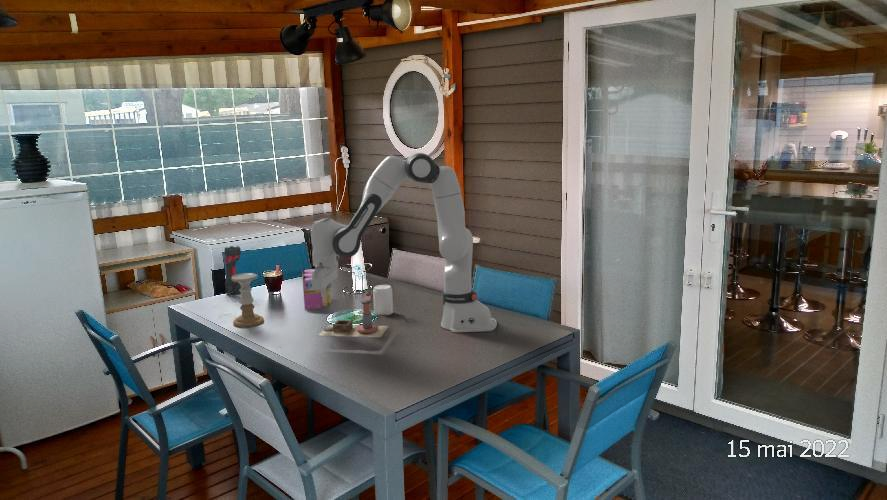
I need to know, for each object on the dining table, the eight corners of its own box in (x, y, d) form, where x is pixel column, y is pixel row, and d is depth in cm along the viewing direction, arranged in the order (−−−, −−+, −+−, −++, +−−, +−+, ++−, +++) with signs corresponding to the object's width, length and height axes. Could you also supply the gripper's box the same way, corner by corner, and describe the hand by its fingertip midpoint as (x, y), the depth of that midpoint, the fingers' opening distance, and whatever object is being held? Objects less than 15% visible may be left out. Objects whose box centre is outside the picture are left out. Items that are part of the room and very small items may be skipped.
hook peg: (330, 303, 253) (329, 286, 252) (331, 305, 250) (330, 288, 249) (322, 304, 252) (321, 286, 251) (322, 306, 249) (321, 289, 248)
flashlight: (248, 292, 315) (243, 246, 310) (235, 296, 309) (230, 249, 304) (237, 290, 319) (232, 245, 314) (224, 294, 313) (219, 248, 308)
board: (389, 328, 256) (388, 325, 255) (380, 340, 243) (380, 336, 243) (328, 327, 260) (328, 323, 259) (317, 338, 247) (317, 334, 247)
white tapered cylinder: (390, 317, 271) (388, 289, 268) (371, 316, 272) (370, 289, 270) (395, 311, 278) (394, 284, 276) (377, 310, 280) (376, 284, 277)
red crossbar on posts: (377, 332, 247) (375, 303, 245) (356, 333, 247) (354, 304, 244) (379, 320, 262) (378, 292, 259) (359, 321, 262) (358, 293, 259)
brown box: (352, 327, 255) (352, 320, 254) (348, 332, 249) (347, 325, 248) (338, 327, 256) (337, 320, 255) (333, 332, 250) (332, 324, 249)
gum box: (304, 295, 307) (302, 268, 304) (321, 294, 308) (319, 266, 306) (304, 310, 284) (302, 280, 281) (322, 308, 286) (320, 278, 283)
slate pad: (336, 327, 255) (336, 327, 255) (332, 331, 251) (332, 330, 251) (325, 327, 256) (325, 326, 256) (321, 331, 252) (321, 330, 251)
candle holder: (269, 322, 269) (265, 275, 264) (243, 329, 260) (238, 281, 256) (254, 316, 277) (249, 270, 273) (227, 323, 268) (222, 276, 264)
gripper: (323, 266, 237) (325, 302, 240) (340, 254, 257) (342, 288, 260) (306, 266, 238) (309, 302, 241) (325, 254, 258) (327, 287, 261)
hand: (326, 294), depth 250 cm, fingers closed on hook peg, 3 cm apart
